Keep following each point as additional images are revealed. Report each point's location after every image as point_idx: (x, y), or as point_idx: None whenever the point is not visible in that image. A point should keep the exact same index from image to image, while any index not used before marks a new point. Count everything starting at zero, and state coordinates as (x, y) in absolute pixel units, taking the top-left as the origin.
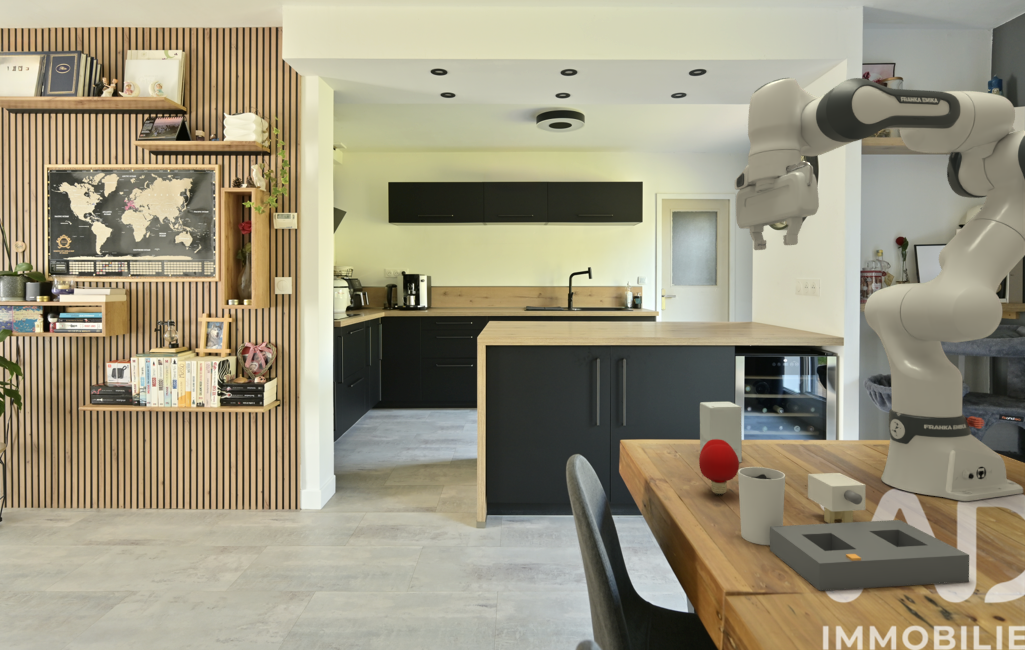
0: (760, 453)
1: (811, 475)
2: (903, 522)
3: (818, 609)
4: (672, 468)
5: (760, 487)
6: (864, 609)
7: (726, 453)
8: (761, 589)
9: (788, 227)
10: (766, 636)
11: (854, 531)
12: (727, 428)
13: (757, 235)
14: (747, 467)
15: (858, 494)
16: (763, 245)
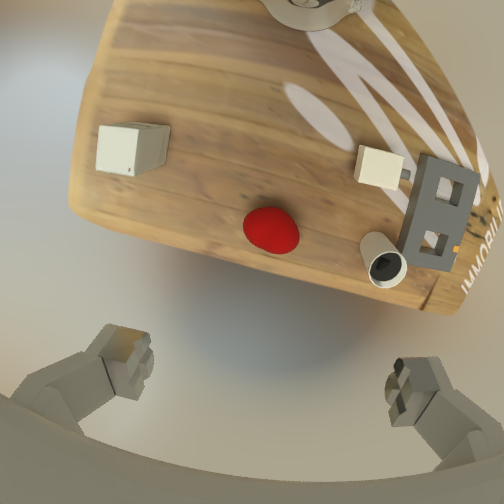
0: (142, 83)
1: (363, 182)
2: (432, 158)
3: (452, 278)
4: (176, 215)
5: (398, 277)
6: (463, 256)
7: (295, 241)
8: (426, 292)
9: (439, 453)
10: (452, 314)
11: (431, 211)
12: (150, 147)
13: (79, 397)
14: (369, 271)
15: (410, 174)
16: (140, 354)
